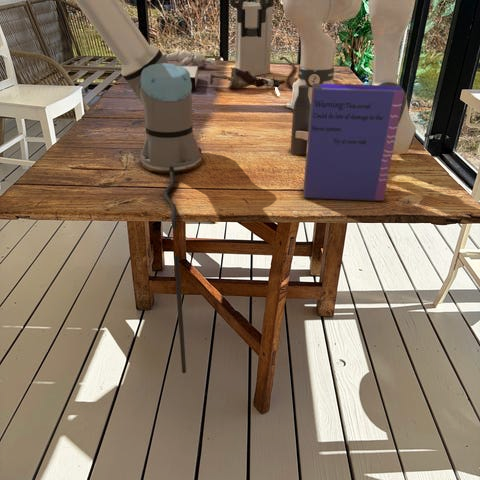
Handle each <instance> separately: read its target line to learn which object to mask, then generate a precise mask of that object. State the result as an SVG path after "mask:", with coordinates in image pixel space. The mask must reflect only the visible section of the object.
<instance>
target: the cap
mask: <svg viewBox="0 0 480 480" xmlns="http://www.w3.org/2000/svg"><path fill="white" fill-rule="evenodd" d="M245 36H247V37H256V36H258V27H245Z"/></svg>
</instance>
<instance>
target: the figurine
mask: <svg viewBox="0 0 480 480" xmlns="http://www.w3.org/2000/svg"><path fill="white" fill-rule="evenodd" d="M230 69H231V72H230V73H231V74H230V76H229V75H225V74H213V73H211V74H210V78H209V85H212V84H213V83H214V79H215V78H216V79H223V80H227V81H229V84H228V88H229V89H241V88H247V87H249V86H255V87H256V88H262V87H268V88H271V89H273V88H277V89H278V88H280V86H281V85H284V84H286V83H287V79H286V80H285V79H275V78H274V77H272V78H265V77H262V78H261V77H257V76H252V75H251V73H250V72H249V71H245V72H244V71H242V70H240V69H237V68H235V67H232V66H231V67H230Z"/></svg>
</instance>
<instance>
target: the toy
mask: <svg viewBox="0 0 480 480" xmlns="http://www.w3.org/2000/svg"><path fill="white" fill-rule="evenodd" d="M161 53H162V54H163V56H164V57H165V59H166V60H167V62H178V64H179V66H189V65H190V64H192V66H198V68H200V65H204V64H205V63H210V64H211V65H212V66H214V67H217V64H218V63H217V62H216V60H214V59H212V58H210V57H209V58H206V56H205V55H204V54H202V53H200V51H198V50H197V51H195V52H190V51H187V50H181V51H178V50H176V51H174V52H170V53H168V52H166V51H161Z"/></svg>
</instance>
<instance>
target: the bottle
mask: <svg viewBox="0 0 480 480" xmlns="http://www.w3.org/2000/svg"><path fill="white" fill-rule="evenodd" d="M298 89H299V92H298V96H297V99H296V101H295V103H294V106H293V109H292V123H291V135H290V136H291V137H290V139H291V140H290V149H289V150H290V151H289V152H290V154H292V155H296V156H304V155H305V156H306V153H307V142H308V141H307V140H304V139H302V138H296V137H295V135H296V131H297V130H303V131H305V132H308V131H309V120H310V109H311V104H310V99H309V97H308V91H309V86H307V85H300V86H299V88H298Z"/></svg>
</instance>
